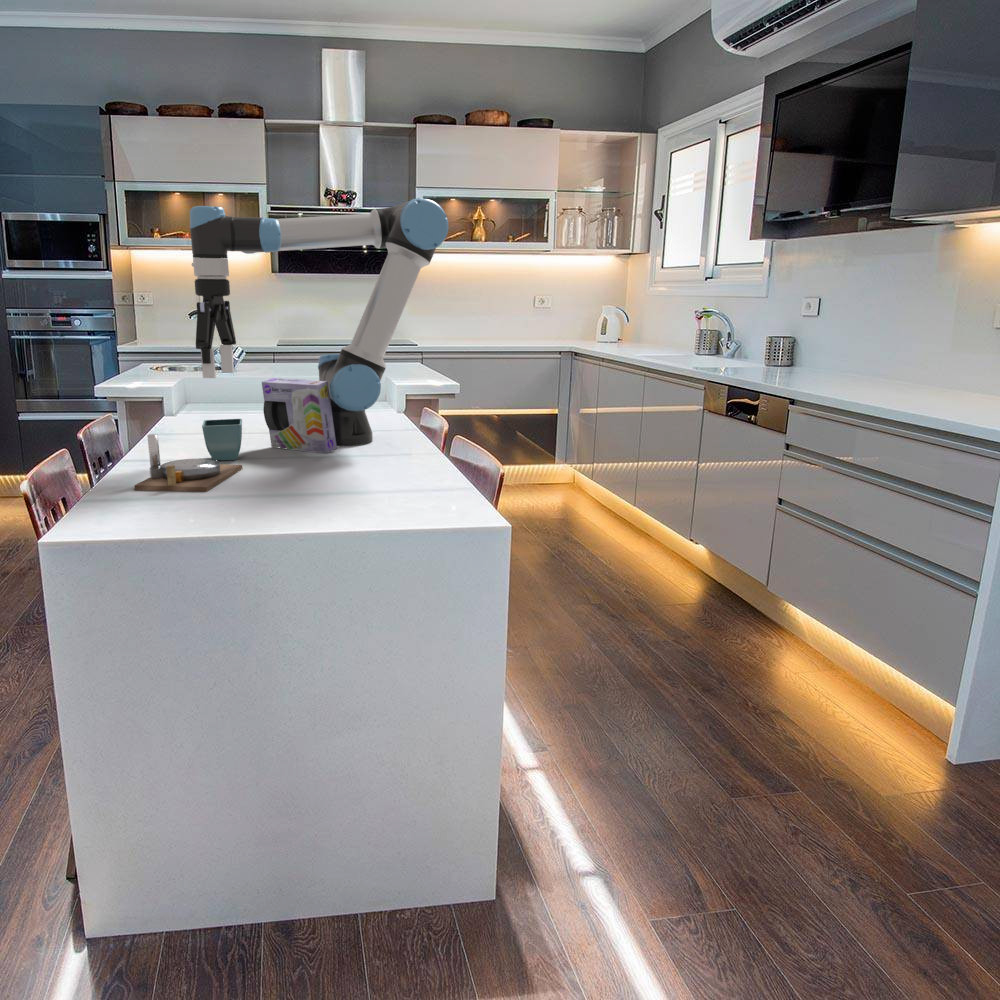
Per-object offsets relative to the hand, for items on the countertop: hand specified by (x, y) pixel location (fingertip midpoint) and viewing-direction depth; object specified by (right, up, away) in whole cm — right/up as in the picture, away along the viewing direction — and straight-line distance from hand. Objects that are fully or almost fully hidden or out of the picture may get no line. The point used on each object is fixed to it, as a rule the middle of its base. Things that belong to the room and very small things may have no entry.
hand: (218, 375), depth 198 cm
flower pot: (0, -20, +5) cm, 20 cm away
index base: (-1, -25, -15) cm, 29 cm away
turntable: (-2, -24, -16) cm, 29 cm away
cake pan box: (+15, -16, +17) cm, 28 cm away
